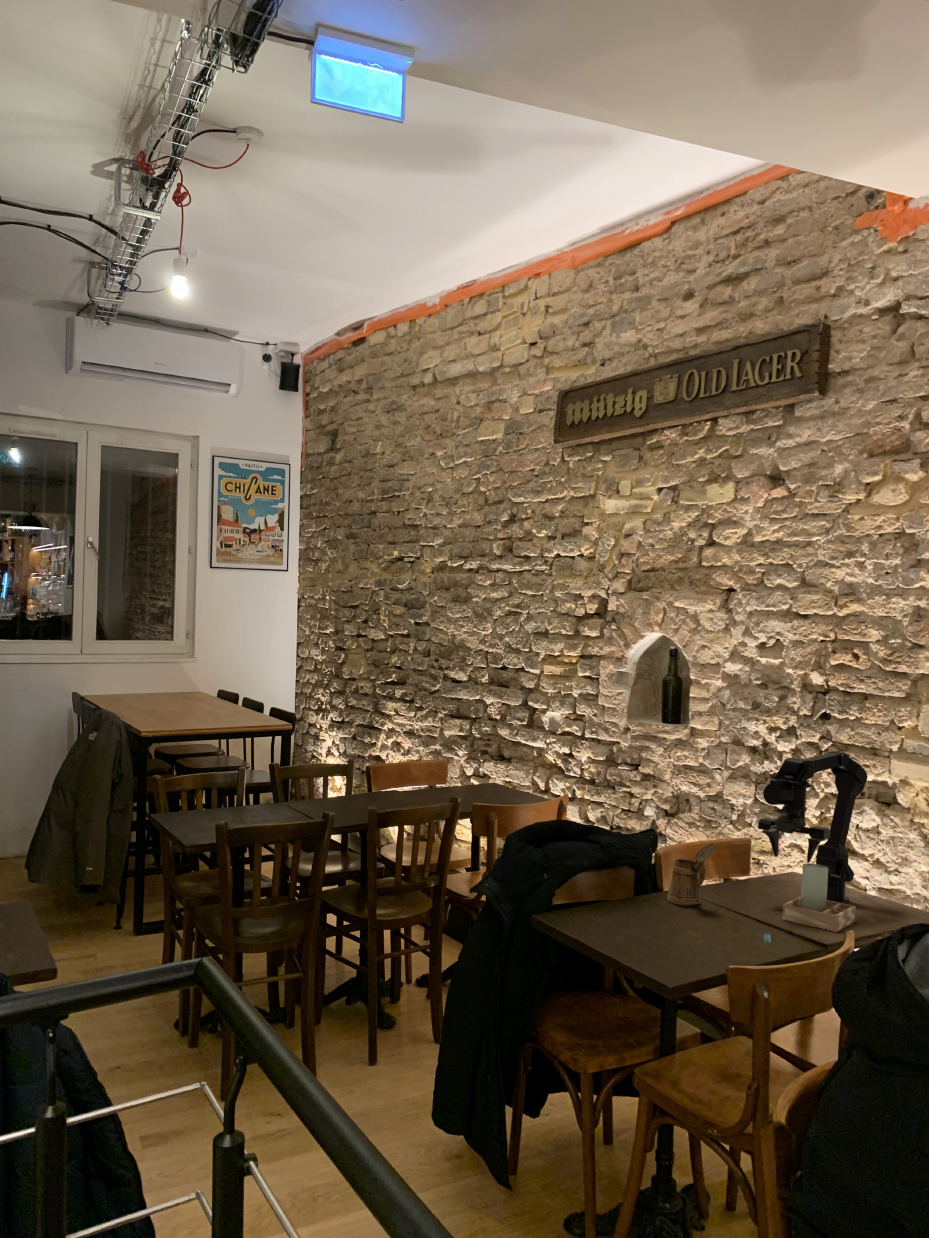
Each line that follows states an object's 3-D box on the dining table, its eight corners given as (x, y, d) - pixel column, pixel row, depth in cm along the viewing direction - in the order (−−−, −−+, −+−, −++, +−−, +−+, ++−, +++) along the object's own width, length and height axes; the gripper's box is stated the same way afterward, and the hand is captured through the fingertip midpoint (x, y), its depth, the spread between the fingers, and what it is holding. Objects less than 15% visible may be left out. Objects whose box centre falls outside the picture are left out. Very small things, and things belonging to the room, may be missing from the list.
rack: (803, 909, 265) (803, 895, 265) (855, 921, 256) (855, 906, 256) (782, 919, 254) (783, 904, 254) (836, 931, 245) (836, 916, 245)
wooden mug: (698, 911, 257) (702, 844, 257) (660, 899, 268) (663, 834, 268) (719, 907, 262) (723, 841, 263) (681, 895, 273) (684, 832, 273)
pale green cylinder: (799, 910, 260) (801, 862, 260) (824, 913, 258) (826, 865, 259) (801, 916, 254) (804, 867, 254) (826, 919, 252) (829, 870, 253)
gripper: (751, 800, 269) (748, 856, 268) (818, 811, 257) (815, 869, 256) (766, 797, 277) (764, 851, 277) (832, 807, 265) (829, 864, 265)
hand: (792, 859), depth 268 cm, fingers open, 9 cm apart
